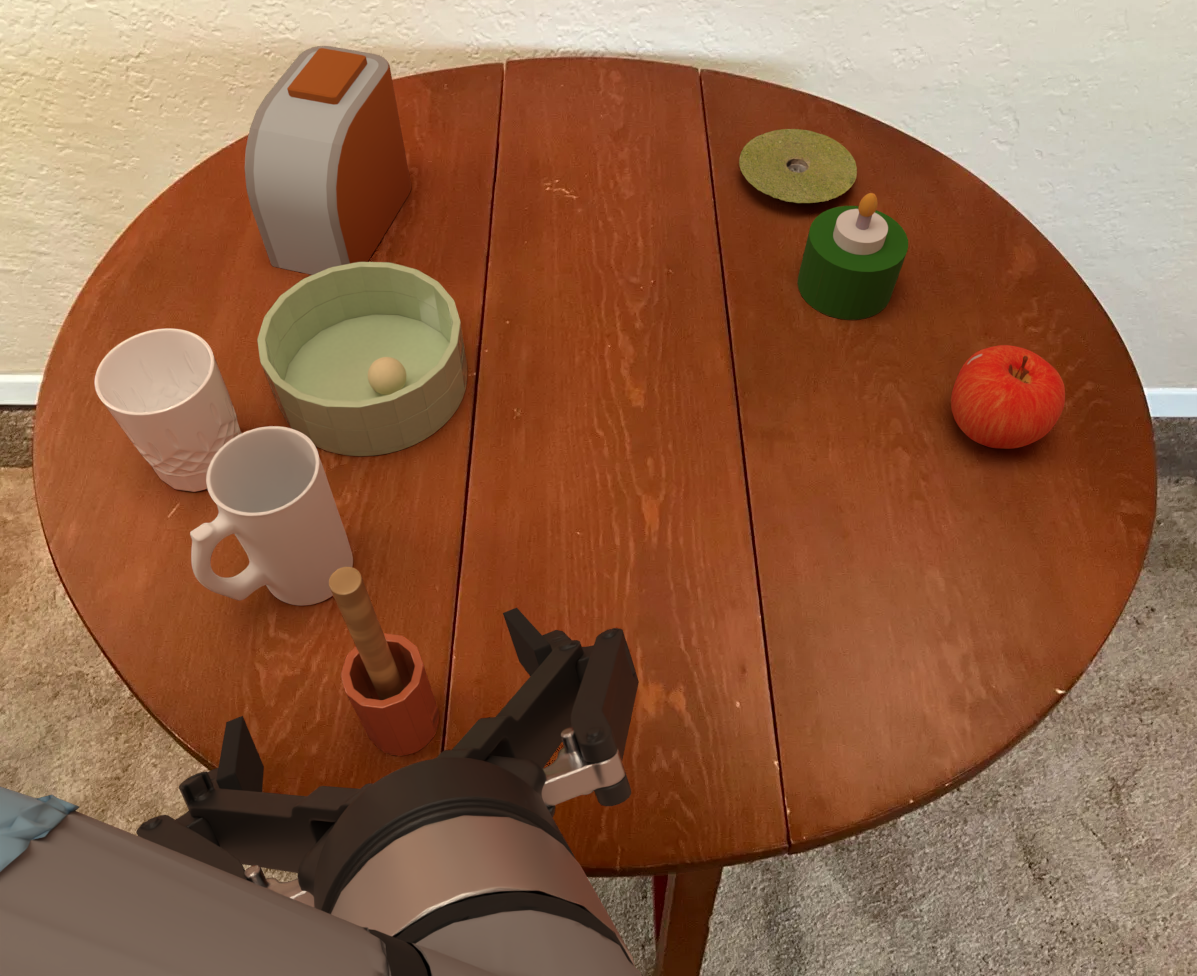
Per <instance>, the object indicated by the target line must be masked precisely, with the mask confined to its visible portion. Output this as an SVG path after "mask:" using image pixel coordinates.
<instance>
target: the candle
mask: <svg viewBox="0 0 1197 976" xmlns="http://www.w3.org/2000/svg"><path fill="white" fill-rule="evenodd" d="M878 204H879V203H878V197H877V195H876V194H875V193H873V192H870V193H869V192H868V193H867V194H865V195H864V196H863V197H862V198H861V200H860V201H859V204H858V205H841V206H836V207H832V208H829V209H826V210H824V211H822V212H821V213H819V214H818V215H817V216H816V217H815V218H814V219H813V221H812V222H811V224H810V227H809V230H808V234H807V238H806V243H805V246H804V251H803V254H802V259H801V262H800V267H799V271H798V274H797V282H796V283H797V288H798V291H799V293H800V296H801V297H802V298H803V300H804V301H805V303H807V305H808V306H810V307H812V309H814V310H816V311H818V313H821V314H823V315H825V316H827V317H831V318H835V319H838V320H847V321H854V320H855V321H857V320H862V319H863V320H864V319H868V318H871V317H874V316H876V315H877V314H879V313H881V312H883V310H884V309H885V308H887V306H888V305H889V303H890V301H891V298H892V295H893V293H894V290H895V287H896V284H897V281H898V279H899V275H900V273H901V270H902V267H903V264H904V262H905V259H906V256H907V253H908V251H909V239H908V236H907V233H906V231H905V230H904V228H903V226H901V225H900V223H899V222H898V221H897V220H895V219H894V218H893V217H891V216H889V215H888V214H885V213H884V212H882V211H879V210H877V209H878Z"/></svg>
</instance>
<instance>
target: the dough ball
mask: <svg viewBox="0 0 1197 976" xmlns="http://www.w3.org/2000/svg"><path fill="white" fill-rule="evenodd" d="M368 381H369V384H370V385H371V387H372V388H373V389H374V390H375V391H376V392H378V393H380V394H383V395H390V394H392V393H394V392H396V391H399V390H401V389H402V388H403V387H404V385H405V383H406V371H405V368H404V366H403V365H402V364H401V363H400V362H399V361H398V360H396V359H394V358H391V357H382V358H379V359H377V360H375V361H374V362H373V363H372V364H371V366H370V368H369V370H368Z"/></svg>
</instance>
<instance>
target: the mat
mask: <svg viewBox="0 0 1197 976" xmlns="http://www.w3.org/2000/svg"><path fill="white" fill-rule="evenodd" d="M738 159H739V160H738V165H739V168H740V169H739V170H740V172H741V173H742V175H743V177H744V179H745V180H746V181H747V182H748V183H749V184H750V185H751V186H752V187H754V188H755V189H756V190H757V191H758V192H761V193H763V194H765V195H768V196H770V197H772V198H773V199H777V200H778V199H779V200H780V201H784V202H787V203H788V202H789V203H795V204H813V203H814V204H815V203H820V202H822V203H823V202H829V200H832V199H836V198H838V197H839V196H842V195H843V194H845V193H846V192H847V191H849V190H850V188H852V187H853V185H854V184H855V182H856V179H857V176H858V175H857V174H858V167H857V162H856V160H855V158H854V156H853V155H852V153H851V152H850V151H849V150H848V149H847V148H846V147H845V146H844V145H843V144H842V143H840V142H839V141H837V140H836V139H834V138H832V137H830V136H828V135H826V134H822V133H819V132H816V131H813V130H808V129H801V128H785V129H784V128H782V129H775V130H772V131H771V130H770V131H768V132H765V133H762V134H760V135H757V136H755V137H754V138H752V139H750V140H749V141H748V142H747V143H746V144H745V145H744V146H743V148H742V150H741V152H740V154H739V158H738Z"/></svg>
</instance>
